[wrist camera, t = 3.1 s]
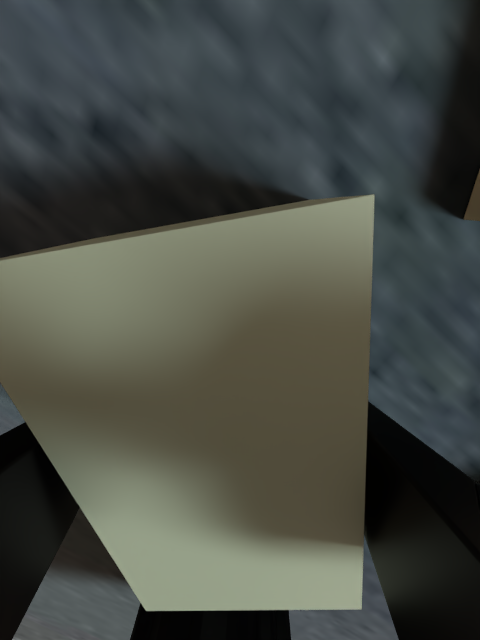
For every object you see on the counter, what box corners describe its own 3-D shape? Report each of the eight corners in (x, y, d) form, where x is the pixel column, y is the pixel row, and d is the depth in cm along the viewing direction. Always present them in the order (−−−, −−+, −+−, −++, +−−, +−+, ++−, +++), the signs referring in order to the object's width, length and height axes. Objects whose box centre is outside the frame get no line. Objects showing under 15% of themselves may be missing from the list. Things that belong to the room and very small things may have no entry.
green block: (181, 478, 11) (145, 611, 8) (91, 238, 7) (-70, 273, 4) (324, 469, 11) (361, 609, 7) (309, 199, 7) (375, 194, 3)
